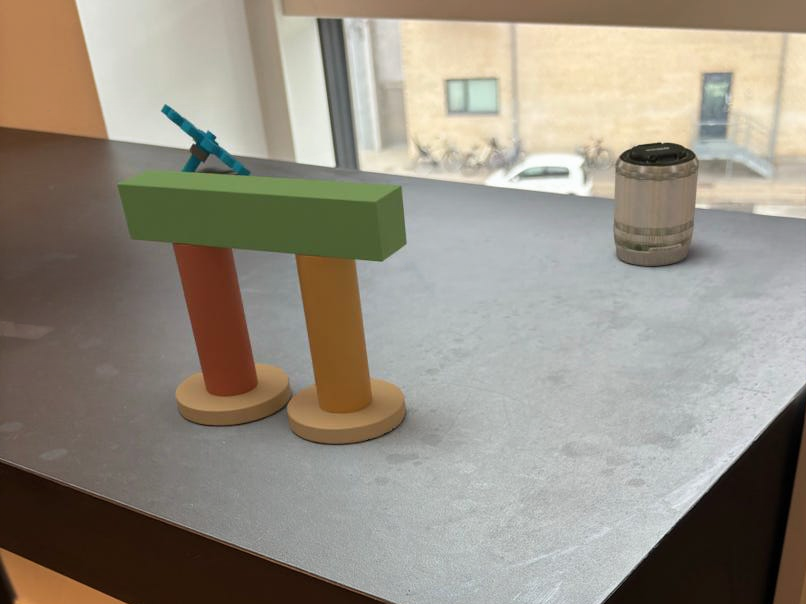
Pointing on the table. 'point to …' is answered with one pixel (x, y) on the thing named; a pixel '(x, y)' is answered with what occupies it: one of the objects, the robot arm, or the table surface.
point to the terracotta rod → (223, 345)
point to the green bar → (266, 214)
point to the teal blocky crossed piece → (202, 145)
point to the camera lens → (654, 203)
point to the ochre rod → (339, 361)
